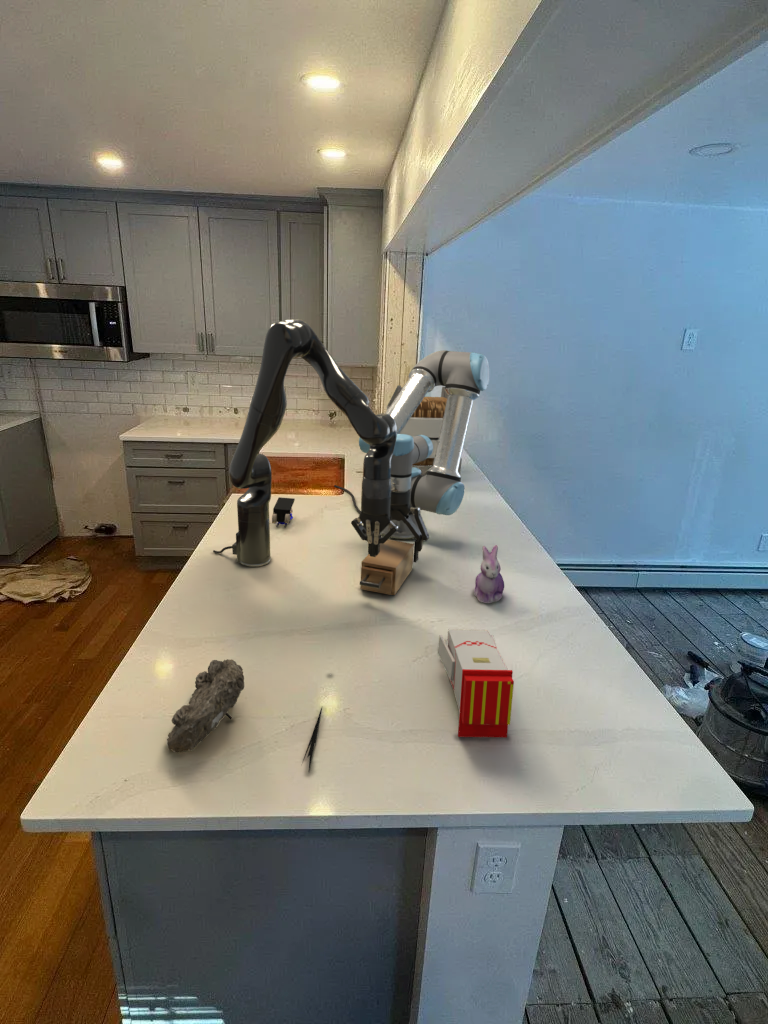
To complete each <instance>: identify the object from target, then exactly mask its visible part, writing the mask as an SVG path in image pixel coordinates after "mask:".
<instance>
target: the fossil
mask: <svg viewBox="0 0 768 1024" xmlns="http://www.w3.org/2000/svg"><path fill="white" fill-rule="evenodd" d="M243 670H244V669H243V667H242V665H240V664H237V662H236V661H235V660H234V659H232V658H231V659H227V658H226V659H224V660H223V661H222V660H217V659H212V660H211V661H210V663H209V665H208V666H207V671H201V672H199V673H198V674H197V675H196V676H195V680H194V684H195V685H194V687H195V689H194V690H193V693H192V694H191V697H190V698H189V700H188V704H184V705H182V706H181V707H180V709H177V710H176V711H175V713H174V715H173V716H172V718H171V723H172V724H173V727H172V730H171V731H170V732H168V734H167V738H166V741H167V742H166V745H167V749H168V750H169V751H173V752H174V753H176V754H178V753H182V752H188V751H189V752H192V751H193V750H195V748H196V747H197V746H199V744H200V743H201V742H203V741H204V740H205V739H206V738H207V737H208V736H209V735H210V734H211V733H212V732H214V730H215V729H217V727H218V726H219V724H220V722H221V721H222V720H223V719H224V718H225V716H226V717H227V719H229V720H233V717H232V715H230V714H229V710H230V709H231V708H234V706H235V704H236V703H237V702H238V699H239V697H240V695H241V693H242V691H243V690H245V689H244V688H245V675H244V671H243Z"/></svg>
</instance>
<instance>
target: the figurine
mask: <svg viewBox="0 0 768 1024" xmlns="http://www.w3.org/2000/svg"><path fill="white" fill-rule="evenodd" d="M481 551H482V561H481V563H480V566H479V567H480V572H479V573H478V574H477V575H476V576H475V582H474V583H475V584H474V591H473V594H474V597H476V598H477V600H478V602H480V603H485V604H493V603H494V602H495V603H496V602H499V601H500V600H501V599H502V597H503V594H504V591H505V580H504V578H503V575H502V574H501V570H502V569H501V564H500V562H499V560H498V552H499V545H497V544H495V545H494V546H492V548H491V551H490V552H489V549H488V548H487V546H485V545H483V546H482V548H481Z"/></svg>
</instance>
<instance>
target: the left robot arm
mask: <svg viewBox="0 0 768 1024" xmlns="http://www.w3.org/2000/svg"><path fill="white" fill-rule="evenodd" d="M263 343H264V345H263V350H262V356H261V363H260V368H259V372H258V376H257V380H256V383H255V387H254V391H253V394H252V397H251V400H250V403H249V408H248V411H247V416H246V420H245V423H244V426H243V430H242V432H241V436H240V439H239V441H238V444H237V445H236V449H235V450H234V453H233V456H232V458H231V461H230V463H229V470H228V475H229V480H230V482H231V484H232V486H233V487H234V488H237V489H241V490H243V489H244V490H245V489H247V490H246V491H245V492H244V493H243V494H242V495H241V496H239V497H238V498H237V501H236V510H237V527H238V528H237V529H238V531H237V532H235V542H234V543H233V544H231V545H229V546H225V547H223V548H222V549H221V550H214V549H213V550H212V553H215V554H219V555H220V554H222V553H223V552H224V551H226V550H229V549H230V550H231V549H232V551H231V552H232V555H235V556H236V563H239V564H241V565H242V566H245V567H252V568H253V567H254V568H255V567H262V566H265V565H268V564H269V563H270V562H272V561H271V560H272V557H271V532H270V531H271V529H270V528H271V527H270V526H271V525H270V502H271V498H272V479H273V478H272V477H273V475H272V465H271V462H270V460H269V459H268V457H267V456H266V455H265V454H263V453H260V452H261V450H262V449H263V448H264V446H266V444H268V442H269V441H270V440H271V439H272V438H273V437H274V436H275V435H276V433H277V432H278V431H279V429H280V427H281V425H282V423H283V419H284V416H285V413H286V411H287V405H288V399H287V393H286V389H285V379H286V375H287V372H288V369H289V366H290V364H291V363H292V360H294V359H298V358H301V359H303V360H304V361H305V362H306V363H307V364H309V365H310V366H311V367H312V368H313V370H314V371H315V372H316V375H317V376H318V378H319V380H320V383H321V385H322V388H323V390H324V392H325V394H326V396H327V397H328V398H329V400H330V401H331V402H332V403H333V404H334V405H335V406H336V408H338V410H339V411H341V412H342V414H344V415H345V416H346V418H347V420H348V422H349V423H350V425H351V426H352V428H353V430H354V432H355V433H356V434H357V436H358V437H359V438H361V439H362V440H363V441H364V442H366V443H367V444H369V445H370V448H369V451H368V453H365V455H364V458H363V463H362V464H363V465H362V468H363V469H362V480H361V491H360V492H361V494H360V495H361V497H360V511H361V513H359V515H358V517H355V518H354V519H352V521H351V523H350V524H351V526H352V527H353V529H354V530H355V532H356V533H357V535H358V536H359V538H360V539H361V540H362V541H366V542H367V555H368V554H370V556H371V557H376V556H377V555H378V554H379V552H380V543H382V544H383V543H385V542H386V541H387V540H390V537H391V536H392V535H393V534H394V533H395V532H396V530H397V529H398V528H399V526H398V525H397V524H396V525H395V524H394V523H393V522H392V521H391V520H392V518H391V516H390V504H391V492H392V490H391V460H392V455H393V452H394V447H395V443H396V438H397V425H396V422H395V420H394V418H393V417H392V416H390V415H389V414H386V412H382V413H381V412H380V413H378V414H376V413H375V412H374V411H373V410H372V409H371V407H370V400H369V397H368V396H367V395H366V393H364V391H362V390H361V389H360V388H359V386H358V385H356V384H355V383H354V381H353V380H352V379H351V378H350V377H349V376H348V375H347V374H346V373H345V372H344V371H343V369H342V368H341V367H340V366H339V364H338V363H337V361H336V360H335V359H334V358H333V357H332V355H331V354H330V352H329V350H328V349H327V348H326V347H325V345H324V344H323V342H322V341H321V339H320V338H319V337H318V335H317V334H316V332H315V331H314V329H313V328H312V327H311V325H309V323H308V322H306V321H304V320H303V319H301V318H291V319H290V318H289V319H285V320H279V321H276V322H274V323H272V324H271V325H270V327H268V329H267V332H266V334H265V339H264V342H263ZM363 525H364V526H365V528H366V530H365V528H364V527H363ZM387 525H389V527H388V530H389V532H388V533H387V534H386V535H385V536H383V535H382V532H383V530H384V529H385V528H386V527H387Z"/></svg>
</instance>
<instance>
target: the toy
mask: <svg viewBox="0 0 768 1024" xmlns="http://www.w3.org/2000/svg"><path fill="white" fill-rule="evenodd" d="M446 640H447V643H446V641H445V639H444V636H443V635H442V634H439V637H438V646H437V656H438V657H439V659H440V661H441V663H442V666H443V668H444V670H445V672H446V674H447V677H448V679H449V681H450V684H451V687H452V690H453V693H454V697H455V701H456V705H457V708H458V711H459V714H458V715H459V716H458V730H457V731H458V732H457V737H458V738H508V731H509V726H510V725H511V717H512V707H513V697H514V696H513V695H514V684H515V680H514V679H513V673H514V671H513V670H512V669H508V667H507V665H506V662H505V661H504V659H503V658H502V655H501V653H500V651H499V649H498V647H497V643H496V639H495V637H494V635H493V634H491V632H490V631H489V629H467V628H466V629H465V628H463V629H461V628H460V629H459V628H448V630H447V639H446Z"/></svg>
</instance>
